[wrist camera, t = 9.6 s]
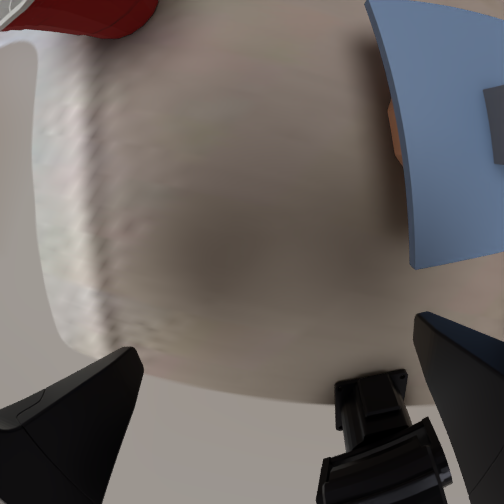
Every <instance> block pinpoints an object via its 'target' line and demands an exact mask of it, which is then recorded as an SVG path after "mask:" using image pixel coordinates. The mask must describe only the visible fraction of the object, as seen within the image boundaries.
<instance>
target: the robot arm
mask: <svg viewBox="0 0 504 504" xmlns="http://www.w3.org/2000/svg"><path fill="white" fill-rule="evenodd" d="M413 342H414V346H415V349H416V352H417V355H418V358H419V361H420V364H421V367H422V370H423V374H424V377H425V380H426V383H427V385H428V388H429V390H430V392H431V395H432V397H433V399H434V402H435V404H436V406H437V409H438V411H439V413H440V416H441V418H442V421H443V423H444V426H445V428H446V431H447V434H448V436H449V439H450V442H451V444H452V447H453V449H454V452H455V455H456V458H457V461H458V464H459V467H460V470H461V473H462V476H463V479H464V482H465V486H466V488H467V492H468V494H469V500H470V503H471V504H504V342H503V341H500V340H498V339H495V338H493V337H490V336H488V335H486V334H483V333H481V332H478V331H476V330H473V329H471V328H468V327H466V326H463V325H461V324H458V323H456V322H453V321H451V320H448V319H446V318H443V317H441V316H438V315H436V314H433V313H431V312H428V311H426V312H422V313H418V314H416V315H415V319H414V331H413ZM143 373H144V368H143V364H142V362H141V360H140V358H139V355H138V353H137V351H136V349H135V348H134V347H122V348H120V349H118V350H116V351H114V352H112V353H111V354H109V355H107V356H105V357H103V358H101V359H100V360H98V361H96V362H94V363H92V364H90V365H88V366H87V367H85V368H83V369H81V370H79V371H77V372H75V373H74V374H71V375H70V376H68V377H66V378H64V379H62V380H60V381H58V382H56V383H54V384H53V385H51V386H49V387H47V388H46V389H43V390H41V391H39V392H37V393H35V394H33V395H31V396H29V397H27V398H25V399H23V400H21V401H18V402H16V403H14V404H12V405H9V406H7V407H5V408H3V409H0V504H102V502H103V499H104V495H105V492H106V489H107V486H108V483H109V480H110V476H111V473H112V471H113V468H114V464H115V461H116V459H117V455H118V453H119V450H120V447H121V444H122V441H123V438H124V436H125V433H126V430H127V427H128V425H129V422H130V419H131V416H132V414H133V411H134V408H135V404H136V400H137V396H138V392H139V388H140V385H141V381H142V377H143ZM401 375H402V376H401ZM407 378H408V374H407V372H406V370H399V371H394V372H390V373H385V374H380V375H376V376H370V377H365V378H360V379H354V380H348V381H342V382H338V383H336V384H335V387H334V389H335V418H336V430H339V431H342V430H343V433H344V440H345V447H346V453H344V454H341V455H338V456H335V457H332V458H331V457H328V458H325V459H323V464H322V468H321V474H320V479H319V485H318V491H317V496H316V503H317V504H447V500H446V496H445V493H444V489H443V488H444V487H446V486H448V485H450V484H452V483H453V482H452V477H451V473H450V469H449V467H448V463H447V460H446V457H445V454H444V452H443V449H442V447H441V444H440V442H439V440H438V437H437V435H436V433H435V431H434V428H433V426H432V424H431V422H430V420H429V417H426V418H424V419H422V421H420V422H418V423H416V424H414V425H412V423H411V420H410V417H409V414H408V411H407V409H406V406H405V403H404V397H405V391H406V384H407ZM339 387H342V388H339Z"/></svg>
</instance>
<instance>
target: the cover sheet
mask: <svg viewBox="0 0 504 504" xmlns="http://www.w3.org/2000/svg"><path fill="white" fill-rule="evenodd" d="M364 5H365V8H366V10H367V13H368V16H369V19H370V22H371V25H372V28H373V31H374V34H375V37H376V40H377V44H378V47H379V50H380V54H381V57H382V61H383V65H384V69H385V72H386V76H387V81H388V85H389V89H390V93H391V98H392V103H393V107H394V112H395V118H396V123H397V129H398V134H399V141H400V147H401V154H402V161H403V169H404V178H405V187H406V198H407V210H408V226H409V255H410V265H411V266H412V267H413V268H414V269H415V270H417V269H423V268H428V267H433V266H438V265H443V264H448V263H453V262H458V261H463V260H467V259H472V258H477V257H481V256H486V255H490V254H495V253H499V252H504V20H501V19H498V18H495V17H491V16H488V15H484V14H480V13H477V12H473V11H468V10H464V9H459V8H455V7H450V6H444V5H438V4H432V3H425V2H418V1H409V0H366V2H365V4H364Z"/></svg>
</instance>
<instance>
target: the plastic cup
mask: <svg viewBox="0 0 504 504" xmlns="http://www.w3.org/2000/svg"><path fill="white" fill-rule="evenodd" d="M157 4H158V0H0V32H1V31H9V30H24V29H31V30H42V31H52V32H60V33H67V34H74V35H87V36H92V37H96V38H101V39H119V38H121V37H124V36H127V35H129V34H132V33H133V32H135V31H136V30H137V29H139V28H140V27H142V26H143V25H144V24H145V23H146V22H147V21H148V19H149V18H150V17H151V16H152V15H153V13H154V11H155V9H156V6H157Z"/></svg>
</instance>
